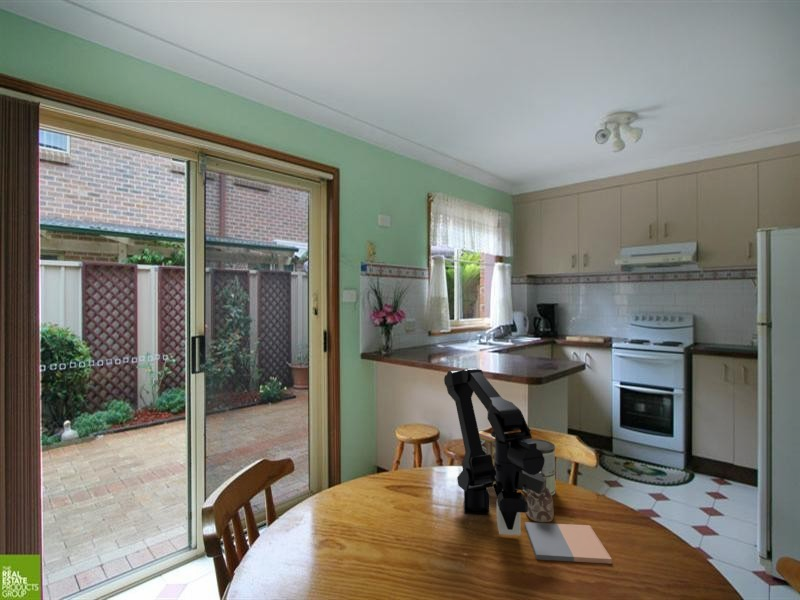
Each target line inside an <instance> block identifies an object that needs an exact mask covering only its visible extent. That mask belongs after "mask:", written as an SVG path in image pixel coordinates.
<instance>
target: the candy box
mask: <svg viewBox="0 0 800 600" xmlns="http://www.w3.org/2000/svg"><path fill="white" fill-rule="evenodd" d="M478 431H479V435H480V440H481V445H482V449H483V450H484V451H485V453H486V454H487V455H489V454H490V455H491V457H492V462H493V466H494V468H496V466H495V438H494V437H493V436H491V433H490V432H486V431H483V430H478ZM493 484H496V482H493ZM491 488H492V489H494V487H491Z"/></svg>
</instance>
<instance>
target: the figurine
mask: <svg viewBox="0 0 800 600" xmlns="http://www.w3.org/2000/svg"><path fill="white" fill-rule="evenodd" d="M539 474H540V475H541V476H542V477H543V479H544V480H545V483H544V486H543V489H542V492H541V494H537V493H536V492H535V491H532V490H530V489H528V492H527V493H526V500H527V503H528V512H526V513H525V514H526V516H527V517H528V518H529V519H530V520H532V521H535V522H536V523H551V522H552V521H553V519H554V515H555V513H554V512H555V510H554V509H555V508H554V501H553V495H551V493H550V491H549V489H548V488H547V487H546V479H547V478H546V476H545V474H544V473H543V472H542V470H541V471H540V472H539Z"/></svg>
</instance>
